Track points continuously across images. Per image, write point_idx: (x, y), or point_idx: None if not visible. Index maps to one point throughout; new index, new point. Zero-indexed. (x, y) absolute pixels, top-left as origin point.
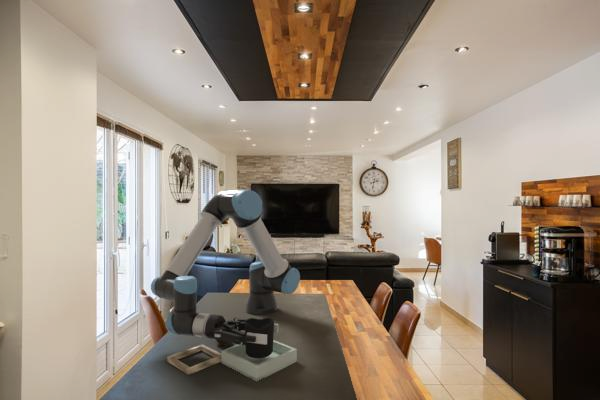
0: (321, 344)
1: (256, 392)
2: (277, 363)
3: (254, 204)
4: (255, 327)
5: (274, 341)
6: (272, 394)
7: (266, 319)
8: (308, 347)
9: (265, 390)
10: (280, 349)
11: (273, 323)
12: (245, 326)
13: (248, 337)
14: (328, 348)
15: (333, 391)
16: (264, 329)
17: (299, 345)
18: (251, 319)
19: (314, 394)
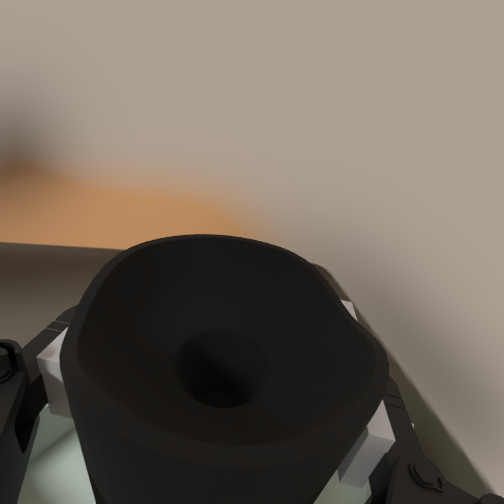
0: (61, 268)
1: (447, 446)
2: None
3: None
4: (167, 397)
5: None
6: (417, 389)
7: (124, 275)
8: (71, 298)
9: (414, 414)
10: None
11: (247, 242)
12: (344, 453)
13: (410, 424)
14: (103, 260)
15: (325, 278)
16: (323, 292)
17: (33, 321)
18: (111, 396)
19: (353, 304)
